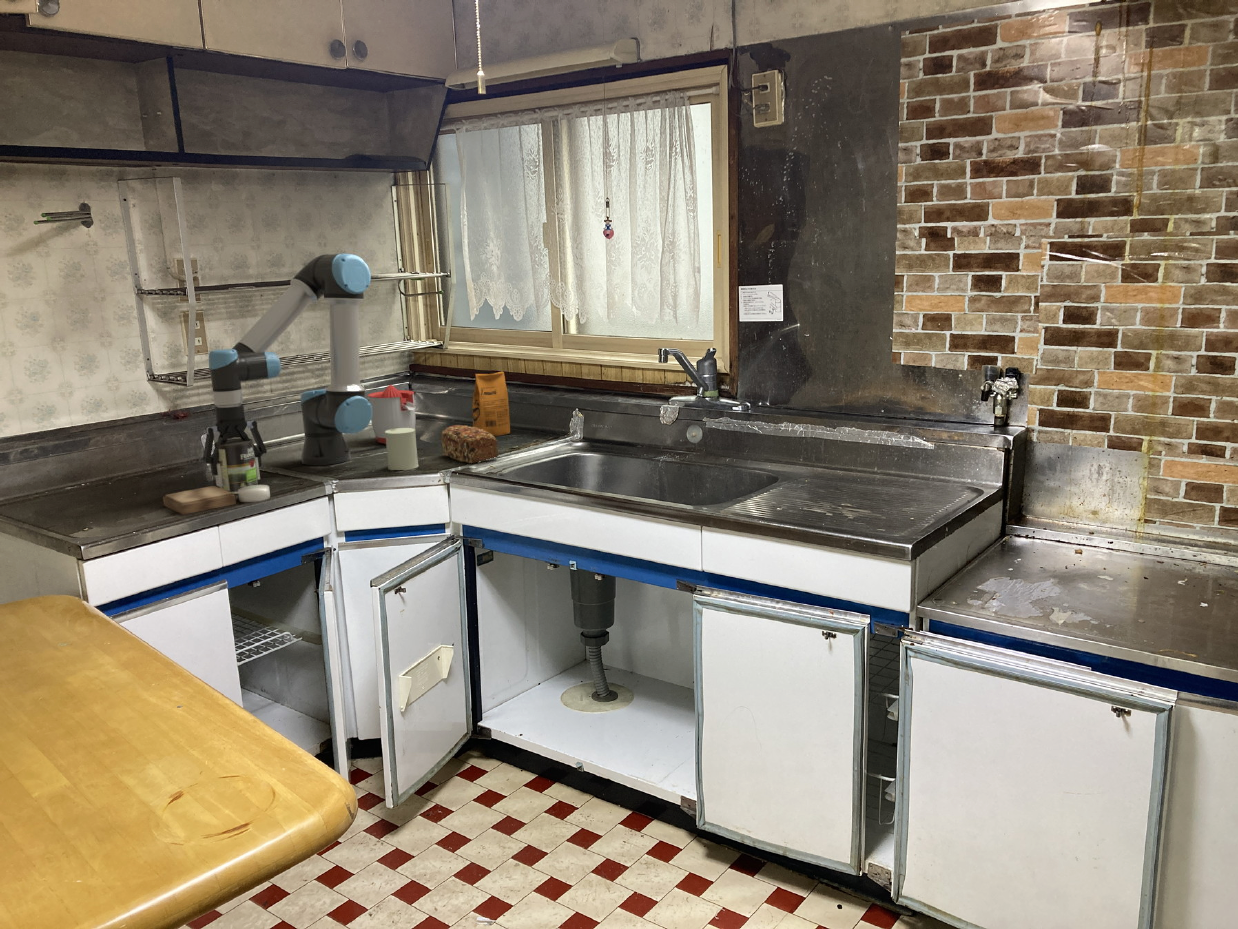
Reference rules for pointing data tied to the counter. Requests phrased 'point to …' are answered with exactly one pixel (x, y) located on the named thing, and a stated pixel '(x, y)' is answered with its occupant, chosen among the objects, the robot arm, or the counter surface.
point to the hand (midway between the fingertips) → (238, 482)
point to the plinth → (198, 500)
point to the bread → (468, 444)
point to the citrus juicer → (391, 411)
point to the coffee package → (491, 404)
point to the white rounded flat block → (254, 493)
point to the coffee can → (237, 464)
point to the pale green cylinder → (401, 449)
